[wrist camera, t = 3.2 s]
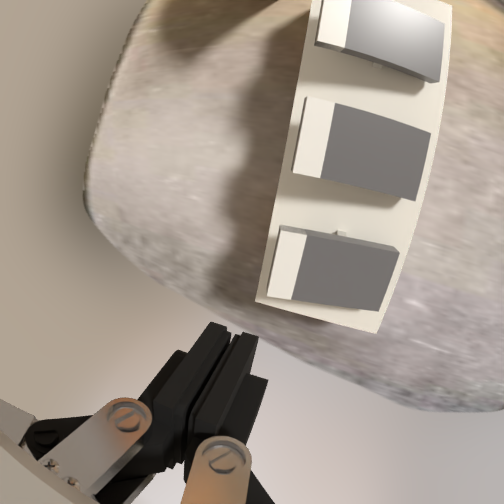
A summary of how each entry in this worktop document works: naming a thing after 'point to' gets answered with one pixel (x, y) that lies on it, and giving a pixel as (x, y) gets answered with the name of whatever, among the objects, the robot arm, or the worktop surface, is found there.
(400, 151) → the switch
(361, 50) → the switch
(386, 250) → the switch
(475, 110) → the worktop surface
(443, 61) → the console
